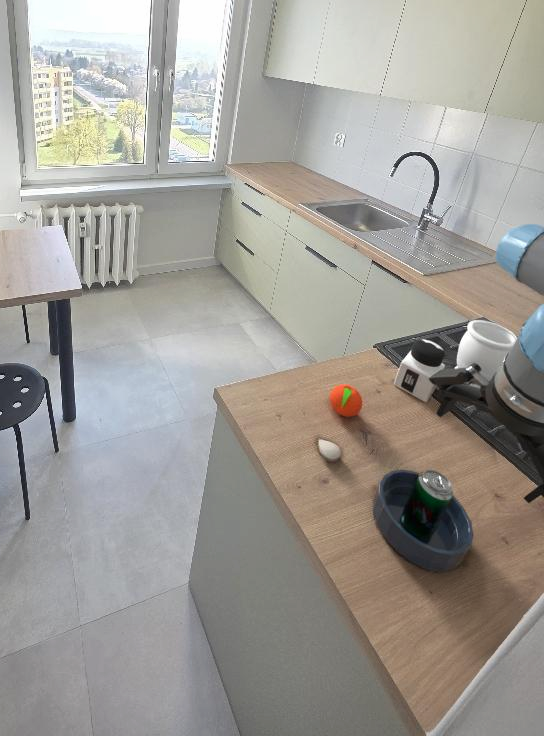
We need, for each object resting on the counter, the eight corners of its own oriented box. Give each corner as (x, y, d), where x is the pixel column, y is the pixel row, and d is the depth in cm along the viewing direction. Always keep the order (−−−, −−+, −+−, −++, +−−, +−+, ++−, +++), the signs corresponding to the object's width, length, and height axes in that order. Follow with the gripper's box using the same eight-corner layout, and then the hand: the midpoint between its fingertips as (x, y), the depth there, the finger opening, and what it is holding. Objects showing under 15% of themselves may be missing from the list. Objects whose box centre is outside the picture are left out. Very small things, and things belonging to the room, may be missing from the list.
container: (426, 403, 101) (443, 362, 96) (392, 384, 106) (407, 344, 101) (436, 387, 106) (453, 347, 101) (404, 370, 111) (418, 331, 106)
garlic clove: (328, 467, 85) (330, 458, 84) (310, 447, 89) (312, 438, 88) (343, 459, 86) (346, 451, 85) (325, 440, 91) (327, 431, 90)
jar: (458, 358, 117) (477, 314, 110) (502, 381, 109) (525, 336, 103) (442, 374, 111) (461, 328, 105) (487, 399, 103) (510, 352, 97)
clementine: (352, 432, 93) (360, 408, 90) (321, 415, 97) (328, 392, 94) (361, 409, 99) (369, 387, 96) (332, 394, 102) (338, 372, 100)
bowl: (455, 510, 78) (465, 491, 76) (468, 592, 66) (480, 572, 64) (372, 476, 83) (379, 457, 81) (371, 545, 72) (379, 526, 69)
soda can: (422, 511, 77) (443, 468, 72) (438, 542, 72) (462, 497, 67) (395, 510, 77) (414, 466, 72) (409, 540, 72) (430, 495, 67)
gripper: (415, 332, 58) (397, 394, 72) (643, 523, 40) (558, 556, 54) (457, 304, 59) (430, 371, 73) (696, 479, 41) (599, 522, 55)
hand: (485, 450), depth 64 cm, fingers open, 13 cm apart
